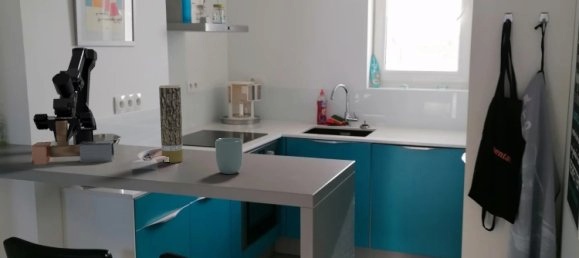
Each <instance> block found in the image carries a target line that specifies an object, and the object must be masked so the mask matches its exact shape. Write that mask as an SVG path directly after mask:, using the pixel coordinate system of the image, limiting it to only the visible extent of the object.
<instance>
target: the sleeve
mask: <svg viewBox="0 0 579 258" xmlns="http://www.w3.org/2000/svg"><path fill="white" fill-rule="evenodd" d="M79 146H80V156H79V158H80V163H105V162H109V163H110V162H113V161H114V159H115V147H114V146H115V144H114V140H94V141H83V142H81V143H80V144H79Z"/></svg>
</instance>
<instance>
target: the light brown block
mask: <svg viewBox="0 0 579 258" xmlns="http://www.w3.org/2000/svg"><path fill="white" fill-rule="evenodd" d="M50 146H52V142H51V141H43V142H42V141H40V142H35V143H33V144H31V146H30V148H31V162H32V165H33V166H34V165H35V166H36V165H38V166H39V165H47V164H49V163H50V162H52V161H53V157H50V153H49V147H50Z"/></svg>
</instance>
